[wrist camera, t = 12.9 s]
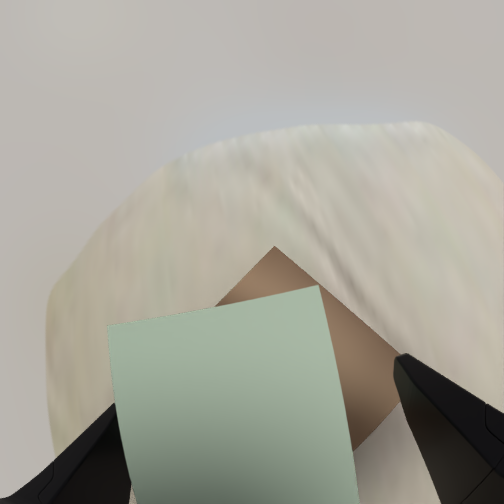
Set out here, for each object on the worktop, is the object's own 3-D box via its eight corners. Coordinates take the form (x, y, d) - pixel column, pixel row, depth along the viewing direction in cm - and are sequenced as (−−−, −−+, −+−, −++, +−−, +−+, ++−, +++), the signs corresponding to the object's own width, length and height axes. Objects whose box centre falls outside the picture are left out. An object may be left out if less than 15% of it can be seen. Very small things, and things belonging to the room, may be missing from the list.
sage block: (323, 414, 15) (359, 504, 4) (244, 428, 15) (141, 516, 4) (309, 339, 17) (318, 284, 6) (231, 354, 17) (107, 325, 6)
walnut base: (280, 496, 16) (276, 514, 13) (161, 379, 20) (141, 380, 17) (406, 373, 17) (421, 373, 15) (278, 261, 22) (274, 245, 19)
